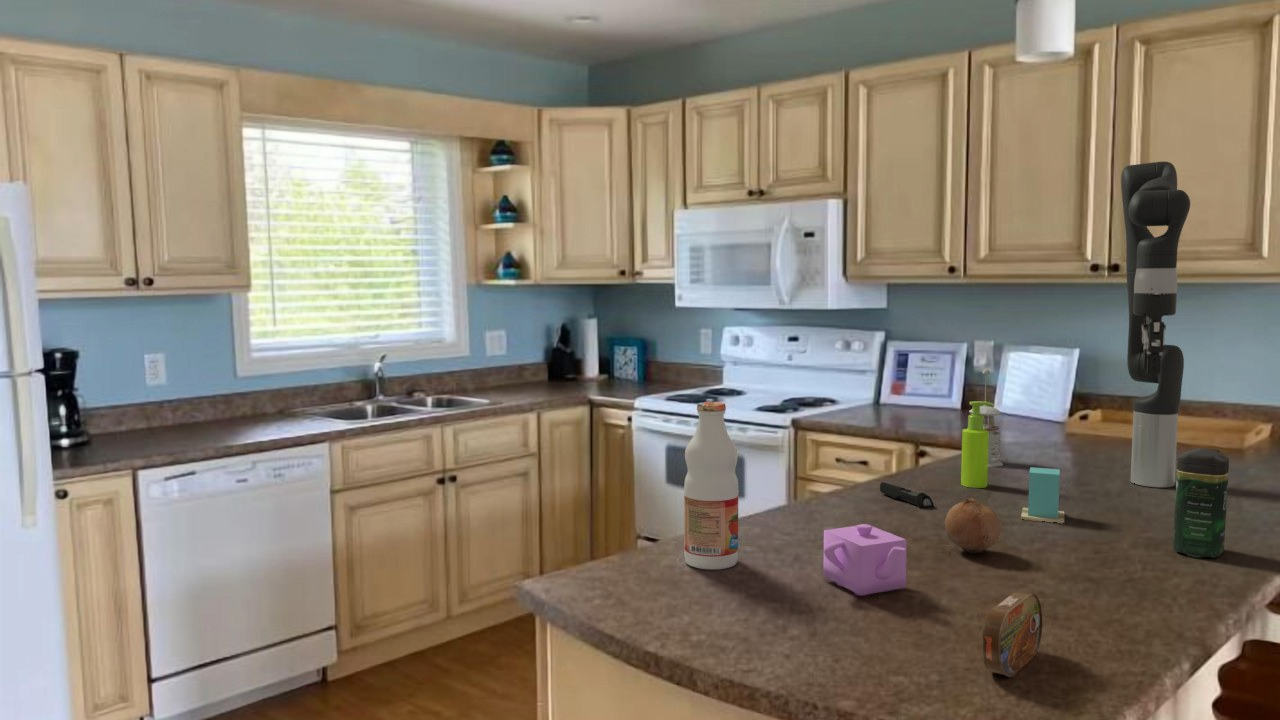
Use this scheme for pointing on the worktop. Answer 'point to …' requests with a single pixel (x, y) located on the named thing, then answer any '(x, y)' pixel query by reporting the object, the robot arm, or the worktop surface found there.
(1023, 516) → the post
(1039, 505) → the teal tower prism
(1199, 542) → the coffee jar
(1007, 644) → the tin
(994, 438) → the french press
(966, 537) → the onion
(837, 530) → the teapot
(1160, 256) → the robot arm
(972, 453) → the soap dispenser
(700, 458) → the fruit juice
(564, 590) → the worktop surface
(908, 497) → the electric trimmer
